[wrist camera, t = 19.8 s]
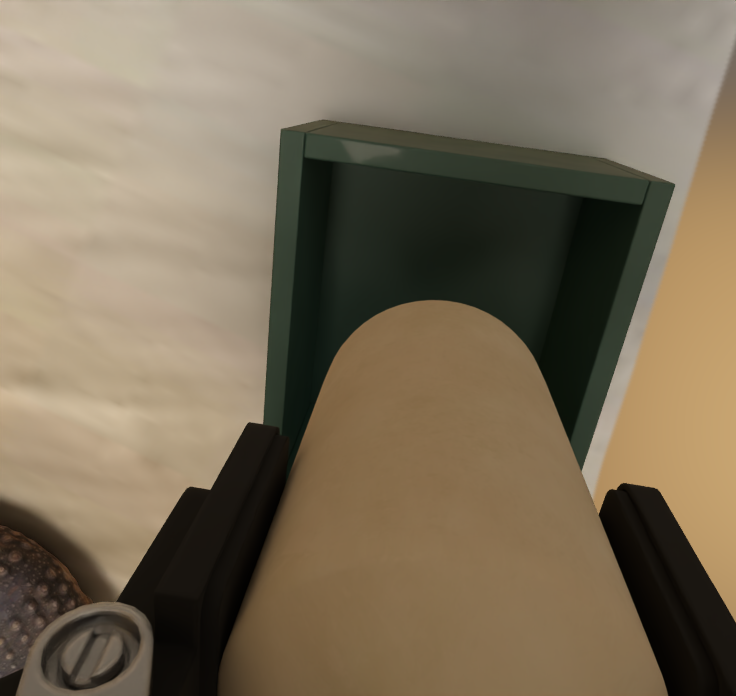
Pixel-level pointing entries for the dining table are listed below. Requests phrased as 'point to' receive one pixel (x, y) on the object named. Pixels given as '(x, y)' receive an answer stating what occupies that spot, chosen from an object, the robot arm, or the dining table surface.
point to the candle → (436, 534)
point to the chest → (455, 255)
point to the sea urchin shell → (30, 596)
